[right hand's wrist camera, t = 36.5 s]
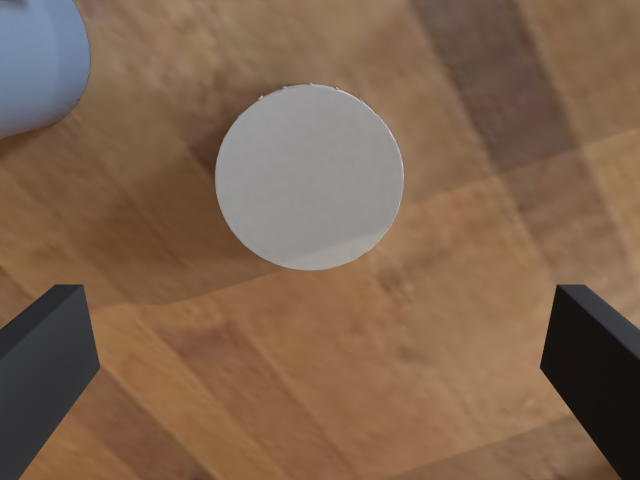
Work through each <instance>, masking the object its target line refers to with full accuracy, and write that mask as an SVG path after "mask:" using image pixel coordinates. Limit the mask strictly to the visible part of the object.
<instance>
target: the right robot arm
mask: <svg viewBox="0 0 640 480" xmlns="http://www.w3.org/2000/svg"><path fill="white" fill-rule="evenodd" d="M99 369H100V364H99V359H98V355H97V350H96V345H95V340H94V335H93V330H92V325H91V321H90V316H89V311H88V306H87V301H86V296H85V292H84V287H83V285H54V286H53V287H52V288H51V289H50V290H48V291H47V292H46V293H45V294H43V295H42V296H41V297H40V298H39V299H37V300H36V301H35V302H34V303H32V304H31V305H30V306H29V307H28V308H26V309H25V310H24V311H23V312H21V313H20V314H19V315H18V316H17V317H15V318H14V319H13V320H12V321H10V322H9V323H8V324H7V325H6V326H4V327H3V328H2V329H1V330H0V480H18V479H19V478H20V477H21V475H22V474H23V472H24V471H25V470H26V468H27V467H28V466H29V464H30V463H31V462H32V460H33V459H34V457H35V456H36V455H37V453H38V452H39V451H40V449H41V448H42V447H43V445H44V444H45V442H46V441H47V440H48V438H49V437H50V436H51V434H52V433H53V431H54V430H55V429H56V427H57V426H58V425H59V423H60V422H61V421H62V419H63V418H64V416H65V415H66V414H67V412H68V411H69V410H70V408H71V407H72V406H73V404H74V403H75V401H76V400H77V399H78V397H79V396H80V395H81V393H82V392H83V391H84V389H85V388H86V386H87V385H88V384H89V382H90V381H91V380H92V378H93V377H94V376H95V374H96V373H97V371H98V370H99ZM540 369H541V370H542V371H543V373H544V374H545V376H546V377H547V378H548V380H549V381H550V382H551V384H552V385H553V386H554V388H555V389H556V391H557V392H558V393H559V395H560V396H561V397H562V399H563V400H564V401H565V403H566V404H567V406H568V407H569V408H570V410H571V411H572V412H573V414H574V415H575V416H576V418H577V419H578V421H579V422H580V423H581V425H582V426H583V427H584V429H585V430H586V431H587V433H588V434H589V436H590V437H591V438H592V440H593V441H594V442H595V444H596V445H597V447H598V448H599V449H600V451H601V452H602V453H603V455H604V456H605V457H606V459H607V460H608V462H609V463H610V464H611V466H612V467H613V468H614V470H615V471H616V472H617V474H618V475H619V477H620V478H621V479H622V480H640V330H639V329H638V328H637V327H636V326H634V325H633V324H632V323H631V322H630V321H628V320H627V319H626V318H625V317H623V316H622V315H621V314H620V313H619V312H617V311H616V310H615V309H614V308H612V307H611V306H610V305H609V304H608V303H606V302H605V301H604V300H603V299H601V298H600V297H599V296H598V295H597V294H595V293H594V292H593V291H592V290H590V289H589V288H588V287H587V286H586V285H557V287H556V292H555V296H554V301H553V306H552V311H551V316H550V321H549V325H548V330H547V335H546V340H545V345H544V350H543V355H542V359H541V364H540Z"/></svg>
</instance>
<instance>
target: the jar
mask: <svg viewBox="0 0 640 480" xmlns="http://www.w3.org/2000/svg"><path fill="white" fill-rule="evenodd" d="M89 68H90V50H89V44H88V37H87V34H86V30H85V27H84V24H83V21H82V19H81V17H80V14H79V12H78V10H77V8H76V6H75V4H74V3H73V1H72V0H0V139H4V138H7V137H11V136H15V135H19V134H23V133H27V132H31V131H35V130H38V129H42V128H46V127H48V126H50V125H53V124H55V123H57V122H58V121H60V120H61V119H63V118H64V117H65V116H66V115H67V114H69V113H70V112H71V111H72V110H73V108H74V107H75V106H76V104H77V103H78V102H79V100H80V98H81V96H82V95H83V92H84V89H85V87H86V84H87V80H88V75H89Z"/></svg>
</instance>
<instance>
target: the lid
mask: <svg viewBox="0 0 640 480" xmlns="http://www.w3.org/2000/svg"><path fill="white" fill-rule="evenodd" d="M257 100H258V101H256V102H255V103H254V104H252V105H251V106H250V107H249V108H248V109H247V110H245V111H244V112H242V113H241V114H239V115H238V116H237V117H238V118H237V120H236V121H235V122H234V123H233V124H232V126H231V127H230V129H229V131H228V132H227V134H226V135H225V137H224V138H223V139H224V140H223V142H222V144H221V146H220V150H219V153H218V157H217V161H216V168H215V188H216V195H217V199H218V203H219V207H220V209H221V212H222V214H223V217H224V219H225V220H226V222H227V224H228V226H229V227H230V229H231V230H232V231H233V233H234V234H235V236H236V237H237V238H238V239H239V240H240V241H241V242H242V243H243V244H244V245H245V246H246V247H247V248H248V249H250V250H251V251H252V252H253V253H255V254H257V255H258V256H260V257H261V258H263V259H265V260H267V261H269V262H271V263H273V264H276V265H279V266H282V267H285V268H290V269H295V270H306V271H310V270H323V269H330V268H334V267H337V266H341V265H343V264H346V263H348V262H350V261H353V260H354V259H356V258H358V257H360V256H361V255H363V254H364V253H366V252H367V251H368V250H370V249H371V248H372V247H373V246H374V245H375V244H376V243H377V242H378V241H379V240H380V239H381V238H382V237H383V235H384V234H385V233H386V232H387V230H388V229H389V227H390V226H391V224H392V222H393V220H394V218H395V216H396V214H397V212H398V209H399V205H400V202H401V198H402V193H403V182H404V174H403V164H402V160H401V155H400V152H399V149H398V146H397V144H396V140H395V139H394V137H393V136H392V134H391V132H390V130H389V129H388V127H387V126H386V125H385V123H384V122H383V121H382V120H383V119H382V118H381V117H380V116H379V115H378V114H376V113H375V112H374V111H373V110H372V109H371V108H369V107H368V106H367V105H366V104H364V103H363V100H362V99H360V98H356V97H354V96H352V95H351V94H349V93H347V92H345V91H342V90H340V89H338V87H335V88H333V87H329V86H325V85H317V84H312V83H310V84H300V85H294V86H288V87H286V86H284V87H283V88H282V89H279V90H276V91H274V92H272V93H270V94H268V95H265V96H264V97H263V96H261V97H260V98H258V99H257Z"/></svg>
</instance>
